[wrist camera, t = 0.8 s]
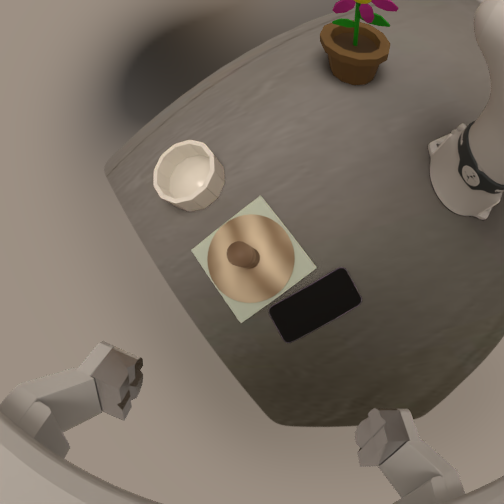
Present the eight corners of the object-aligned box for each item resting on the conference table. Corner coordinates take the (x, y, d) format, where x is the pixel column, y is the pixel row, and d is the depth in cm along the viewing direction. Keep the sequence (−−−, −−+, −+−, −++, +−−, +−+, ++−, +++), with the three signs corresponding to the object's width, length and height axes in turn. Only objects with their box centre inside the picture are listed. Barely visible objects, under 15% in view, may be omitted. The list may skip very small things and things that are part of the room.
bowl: (204, 143, 53) (192, 129, 47) (236, 183, 50) (227, 171, 45) (159, 180, 54) (144, 170, 48) (186, 223, 52) (172, 216, 46)
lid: (259, 199, 49) (249, 183, 41) (312, 267, 45) (312, 263, 38) (194, 250, 50) (173, 244, 42) (241, 319, 47) (227, 326, 39)
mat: (261, 196, 49) (260, 195, 49) (316, 267, 46) (316, 267, 45) (192, 250, 51) (191, 250, 50) (241, 323, 47) (240, 323, 47)
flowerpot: (320, 88, 49) (313, -31, 20) (321, 47, 51) (312, -55, 21) (386, 96, 46) (415, -15, 17) (379, 54, 47) (393, -44, 18)
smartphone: (265, 308, 47) (343, 264, 44) (267, 307, 48) (343, 264, 45) (286, 345, 45) (364, 302, 43) (286, 344, 46) (363, 301, 44)
